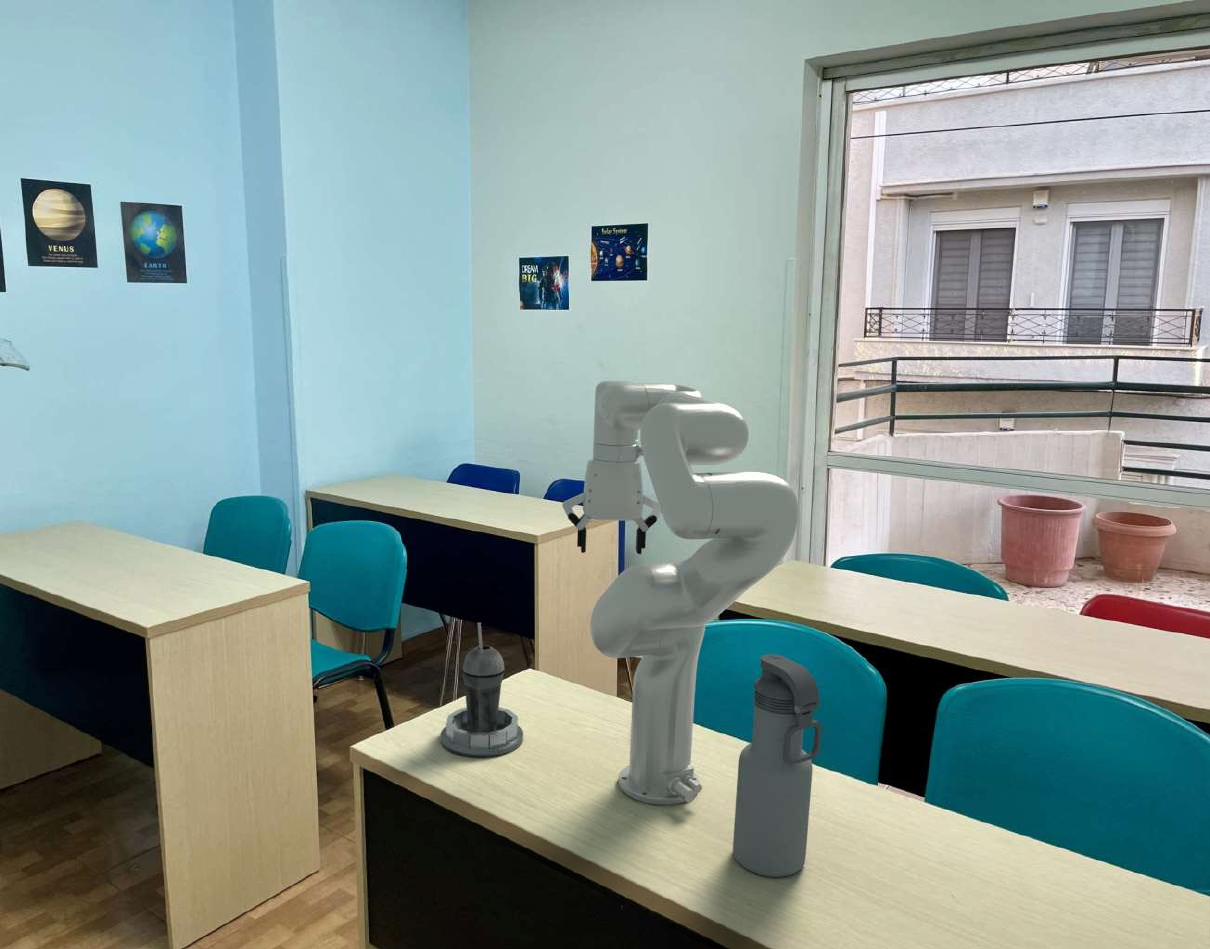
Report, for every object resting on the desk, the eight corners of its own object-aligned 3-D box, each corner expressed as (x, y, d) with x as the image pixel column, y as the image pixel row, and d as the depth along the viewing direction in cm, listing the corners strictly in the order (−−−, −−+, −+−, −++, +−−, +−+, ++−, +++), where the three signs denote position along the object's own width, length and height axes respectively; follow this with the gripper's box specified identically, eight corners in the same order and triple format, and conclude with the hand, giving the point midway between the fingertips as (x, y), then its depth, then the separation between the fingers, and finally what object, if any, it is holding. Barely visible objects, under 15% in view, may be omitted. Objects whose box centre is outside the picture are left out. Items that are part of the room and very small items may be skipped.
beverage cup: (512, 734, 160) (515, 622, 157) (480, 747, 154) (482, 631, 151) (484, 721, 165) (486, 612, 162) (451, 733, 159) (453, 620, 156)
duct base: (537, 746, 158) (538, 727, 157) (461, 764, 150) (462, 744, 150) (500, 716, 169) (500, 697, 169) (427, 731, 162) (427, 712, 161)
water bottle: (822, 868, 125) (839, 669, 121) (768, 889, 120) (783, 683, 116) (770, 832, 134) (784, 645, 129) (717, 851, 128) (730, 657, 124)
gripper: (662, 452, 163) (658, 547, 165) (563, 449, 162) (560, 545, 164) (668, 458, 155) (663, 558, 158) (564, 455, 154) (561, 555, 157)
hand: (610, 551), depth 161 cm, fingers open, 9 cm apart
